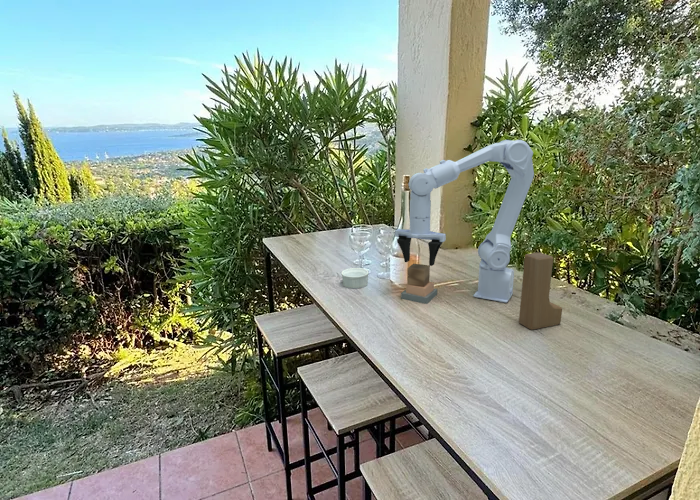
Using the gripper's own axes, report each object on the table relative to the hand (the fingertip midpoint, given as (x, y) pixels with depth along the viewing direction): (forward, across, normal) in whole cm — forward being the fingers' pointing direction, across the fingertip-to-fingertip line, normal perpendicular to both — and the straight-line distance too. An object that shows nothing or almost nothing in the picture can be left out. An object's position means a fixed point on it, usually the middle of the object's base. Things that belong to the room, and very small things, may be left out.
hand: (419, 263), depth 114 cm
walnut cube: (+6, 0, 0) cm, 6 cm away
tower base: (+11, 0, 0) cm, 11 cm away
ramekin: (+11, -22, 0) cm, 24 cm away
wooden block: (+11, +33, -2) cm, 35 cm away
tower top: (+9, 0, 0) cm, 9 cm away
